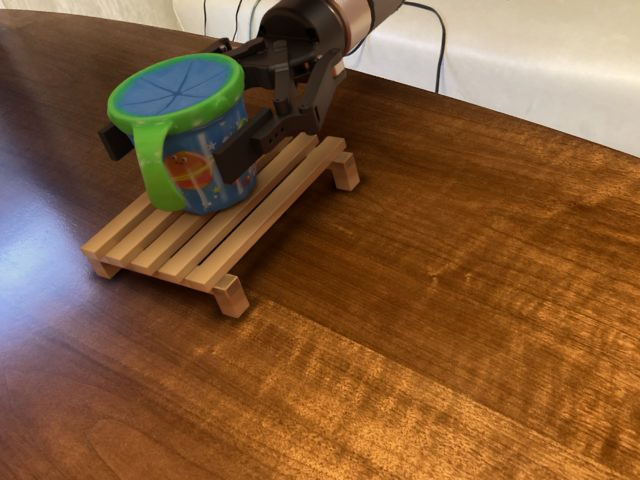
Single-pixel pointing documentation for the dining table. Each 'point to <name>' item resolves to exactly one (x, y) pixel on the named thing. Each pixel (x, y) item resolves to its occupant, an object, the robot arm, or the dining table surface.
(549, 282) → the dining table surface
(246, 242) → the rack
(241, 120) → the snack cup
